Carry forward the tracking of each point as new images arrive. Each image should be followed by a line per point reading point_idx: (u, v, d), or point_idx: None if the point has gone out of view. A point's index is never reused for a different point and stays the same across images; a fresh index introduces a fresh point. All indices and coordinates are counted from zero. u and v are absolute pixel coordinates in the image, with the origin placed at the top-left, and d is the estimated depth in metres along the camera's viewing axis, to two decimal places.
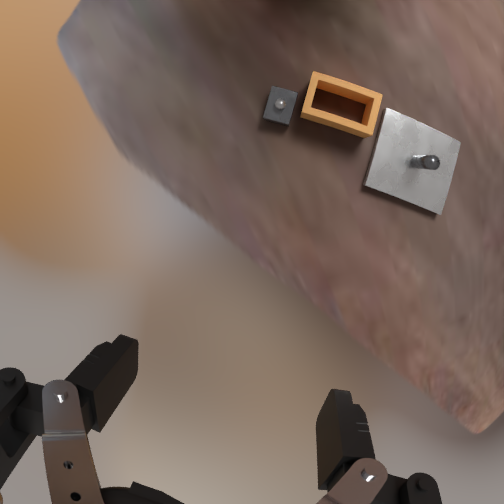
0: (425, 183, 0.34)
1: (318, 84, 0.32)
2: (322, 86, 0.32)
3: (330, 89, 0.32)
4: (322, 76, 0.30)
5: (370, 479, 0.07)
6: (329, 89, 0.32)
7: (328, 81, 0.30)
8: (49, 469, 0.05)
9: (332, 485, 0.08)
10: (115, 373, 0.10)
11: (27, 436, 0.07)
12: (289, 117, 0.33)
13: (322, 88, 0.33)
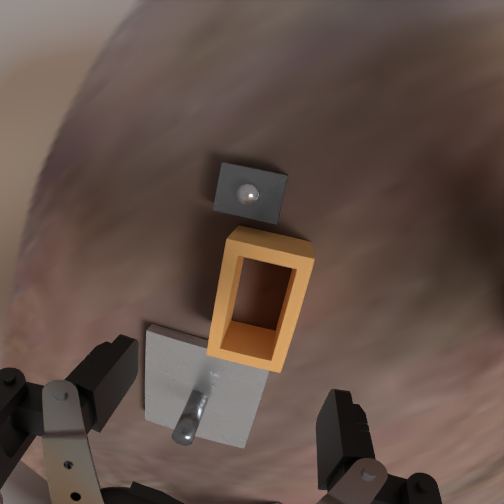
0: (174, 406, 0.25)
1: None
2: None
3: (290, 279, 0.21)
4: (304, 276, 0.18)
5: (370, 479, 0.07)
6: (291, 278, 0.21)
7: (294, 287, 0.18)
8: (49, 469, 0.05)
9: (332, 485, 0.08)
10: (115, 373, 0.10)
11: (27, 436, 0.07)
12: (225, 211, 0.19)
13: None
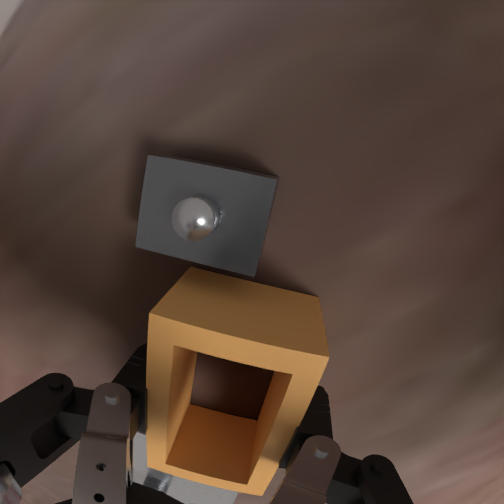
0: None
1: None
2: None
3: None
4: (305, 386, 0.08)
5: (321, 456, 0.08)
6: None
7: (286, 401, 0.09)
8: (80, 467, 0.05)
9: (289, 462, 0.09)
10: None
11: (66, 442, 0.08)
12: (158, 248, 0.10)
13: None
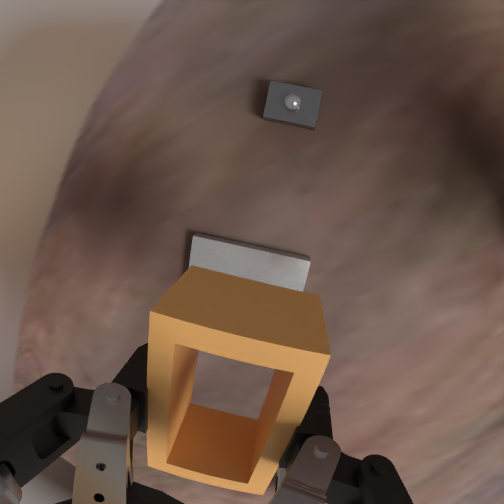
0: None
1: None
2: None
3: None
4: (307, 384, 0.08)
5: (321, 456, 0.08)
6: None
7: (287, 400, 0.09)
8: (79, 467, 0.05)
9: (289, 462, 0.09)
10: None
11: (66, 442, 0.08)
12: (274, 117, 0.22)
13: None
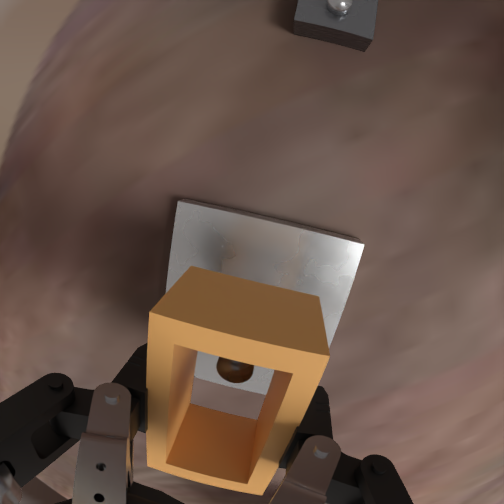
0: None
1: None
2: None
3: None
4: (306, 385, 0.08)
5: (321, 456, 0.08)
6: None
7: (286, 400, 0.09)
8: (79, 467, 0.05)
9: (289, 462, 0.09)
10: None
11: (66, 442, 0.08)
12: (310, 21, 0.12)
13: None
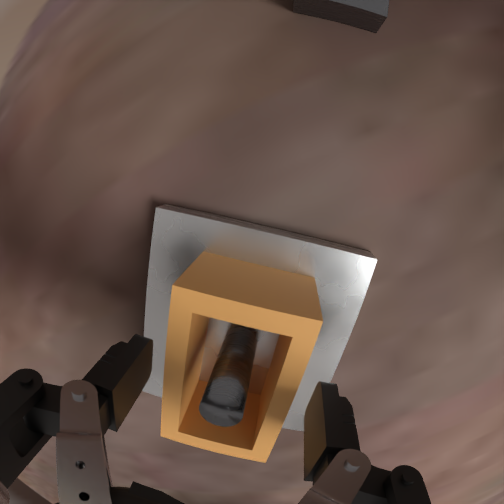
0: None
1: None
2: None
3: (282, 337, 0.13)
4: (303, 348, 0.10)
5: (353, 470, 0.07)
6: (283, 335, 0.13)
7: (287, 363, 0.10)
8: (60, 467, 0.05)
9: (317, 476, 0.08)
10: (131, 373, 0.10)
11: (41, 437, 0.07)
12: None
13: None
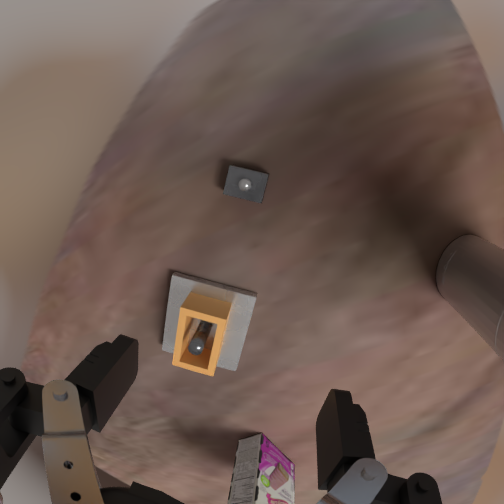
0: None
1: None
2: None
3: None
4: (221, 328, 0.33)
5: (370, 479, 0.07)
6: None
7: (216, 332, 0.33)
8: (49, 469, 0.05)
9: (332, 485, 0.08)
10: (115, 374, 0.10)
11: (27, 436, 0.07)
12: (231, 194, 0.32)
13: None
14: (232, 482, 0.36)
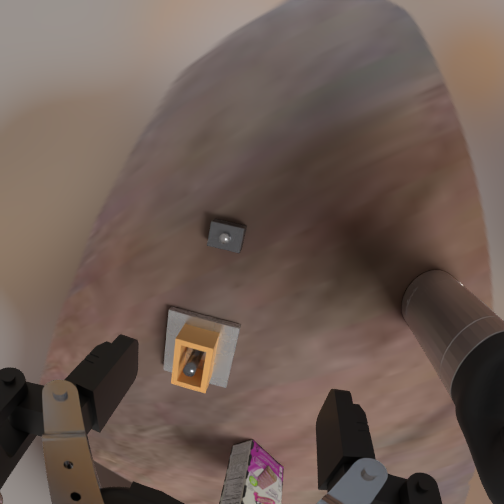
0: None
1: None
2: None
3: None
4: (209, 355, 0.39)
5: (370, 479, 0.07)
6: None
7: (206, 359, 0.39)
8: (49, 469, 0.05)
9: (332, 485, 0.08)
10: (115, 373, 0.10)
11: (27, 436, 0.07)
12: (213, 245, 0.38)
13: None
14: (225, 481, 0.41)
